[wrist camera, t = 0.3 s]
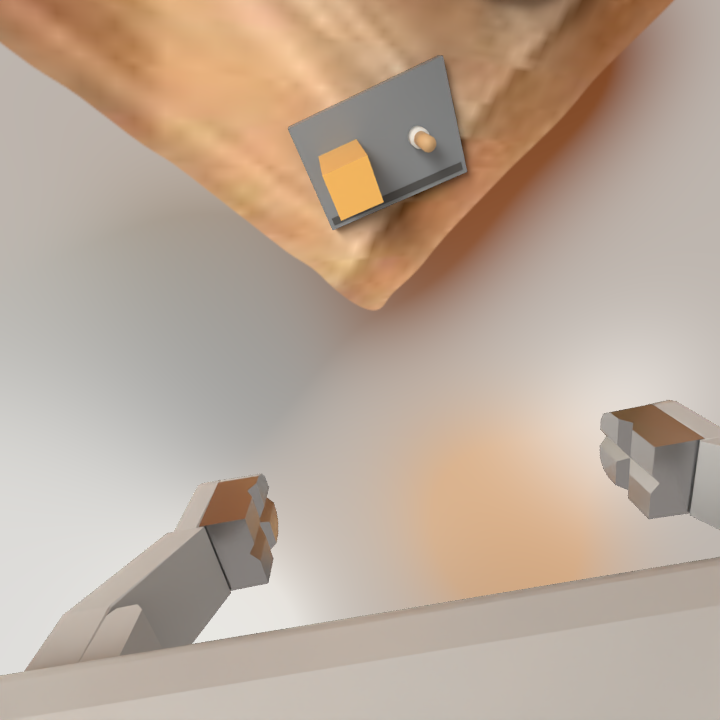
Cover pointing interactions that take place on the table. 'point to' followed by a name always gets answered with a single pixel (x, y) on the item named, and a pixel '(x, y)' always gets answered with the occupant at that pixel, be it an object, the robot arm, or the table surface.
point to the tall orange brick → (350, 179)
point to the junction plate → (389, 136)
